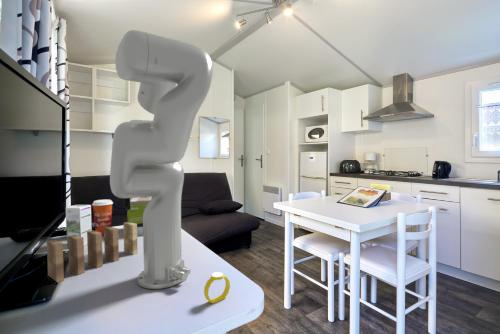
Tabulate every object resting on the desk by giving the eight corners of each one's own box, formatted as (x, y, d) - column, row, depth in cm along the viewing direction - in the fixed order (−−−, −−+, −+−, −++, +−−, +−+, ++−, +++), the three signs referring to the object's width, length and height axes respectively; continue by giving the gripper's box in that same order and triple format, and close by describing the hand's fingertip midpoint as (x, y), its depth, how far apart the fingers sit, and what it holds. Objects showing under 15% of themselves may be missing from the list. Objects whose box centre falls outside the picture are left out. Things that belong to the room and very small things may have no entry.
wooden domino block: (63, 280, 66) (62, 242, 65) (56, 283, 64) (55, 244, 64) (55, 275, 68) (53, 239, 68) (48, 278, 67) (46, 241, 67)
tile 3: (84, 272, 70) (83, 237, 70) (78, 275, 69) (77, 239, 68) (75, 268, 73) (74, 234, 72) (69, 270, 71) (68, 236, 71)
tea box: (132, 227, 116) (132, 195, 115) (156, 225, 119) (155, 194, 118) (127, 237, 102) (126, 200, 101) (153, 234, 105) (153, 199, 104)
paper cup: (93, 237, 101) (92, 203, 101) (92, 232, 108) (91, 200, 107) (114, 234, 105) (114, 201, 105) (113, 229, 112) (112, 198, 111)
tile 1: (118, 260, 79) (118, 228, 78) (113, 261, 77) (113, 229, 77) (109, 256, 81) (108, 226, 81) (104, 258, 80) (103, 227, 79)
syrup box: (92, 241, 96) (91, 204, 95) (80, 247, 90) (79, 207, 89) (79, 241, 96) (77, 204, 96) (66, 246, 91) (65, 207, 90)
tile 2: (102, 266, 74) (101, 232, 74) (97, 268, 73) (96, 234, 73) (93, 262, 77) (92, 230, 76) (88, 264, 75) (87, 231, 75)
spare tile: (137, 253, 84) (136, 223, 84) (133, 254, 83) (132, 224, 82) (128, 250, 87) (127, 221, 86) (124, 251, 85) (123, 222, 85)
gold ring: (224, 294, 59) (226, 269, 59) (231, 299, 57) (232, 273, 57) (201, 301, 55) (203, 274, 55) (207, 307, 53) (209, 279, 53)
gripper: (118, 159, 79) (119, 212, 80) (169, 158, 91) (169, 205, 92) (110, 158, 84) (111, 209, 85) (159, 158, 97) (160, 202, 97)
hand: (141, 207), depth 89 cm, fingers open, 9 cm apart
